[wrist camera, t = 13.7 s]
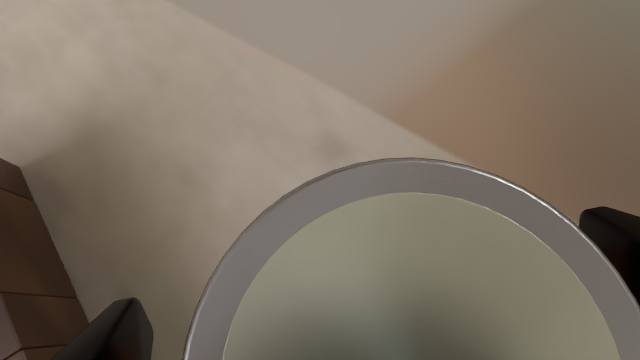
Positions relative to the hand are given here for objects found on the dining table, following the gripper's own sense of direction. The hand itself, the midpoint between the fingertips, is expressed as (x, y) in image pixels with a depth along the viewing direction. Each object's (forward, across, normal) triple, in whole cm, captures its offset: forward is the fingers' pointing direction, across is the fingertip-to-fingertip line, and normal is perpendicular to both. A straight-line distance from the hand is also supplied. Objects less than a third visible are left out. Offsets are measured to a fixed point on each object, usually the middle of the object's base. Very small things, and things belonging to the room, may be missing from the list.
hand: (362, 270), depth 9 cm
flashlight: (+4, 0, +6) cm, 8 cm away
